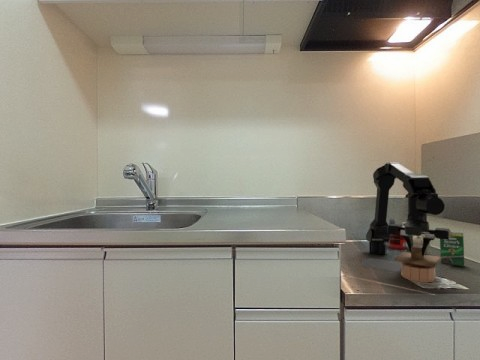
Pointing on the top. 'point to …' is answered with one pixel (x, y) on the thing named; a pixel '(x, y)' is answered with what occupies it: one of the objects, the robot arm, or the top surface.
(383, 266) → the mat
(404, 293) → the top surface
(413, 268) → the bowl
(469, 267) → the top surface
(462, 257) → the coffee box
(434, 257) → the lid
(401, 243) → the canned food
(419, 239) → the garlic bulb
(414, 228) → the robot arm
